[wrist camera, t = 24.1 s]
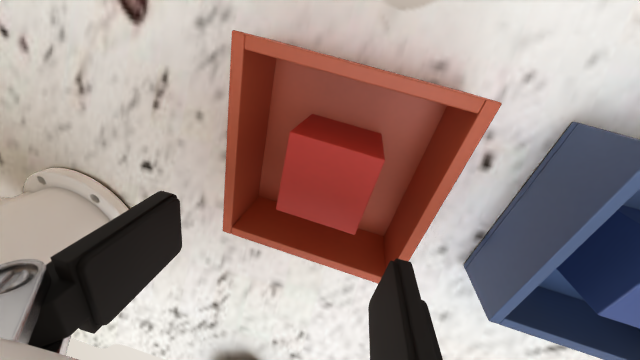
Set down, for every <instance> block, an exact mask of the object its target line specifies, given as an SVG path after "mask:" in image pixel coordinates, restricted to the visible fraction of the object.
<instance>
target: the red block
mask: <svg viewBox="0 0 640 360" xmlns="http://www.w3.org/2000/svg"><path fill="white" fill-rule="evenodd" d="M384 162H385V156H384V148H383V140H382V134H381V133H377V132H374V131H370V130H367V129H363V128H360V127H356V126H353V125H350V124H346V123H343V122H339V121H336V120H332V119H329V118H326V117H322V116H319V115H315V114H311V115H310V116H309V117H307V118H306V119H305V120H304V121H302V122H301V123H300V124H299V125H297V126H296V127H295V128H294V129H292V130H291V131H290V132H289V138H288V144H287V149H286V155H285V160H284V166H283V172H282V177H281V183H280V188H279V194H278V200H277V205H276V209H277V210H279V211H282V212H286V213H289V214H292V215H295V216H298V217H301V218H304V219H307V220H310V221H313V222H316V223H319V224H322V225H326V226H329V227H332V228H335V229H338V230H341V231H344V232H347V233H350V234H353V235H355V234H356V231H357V229H358V226H359V224H360V221H361V219H362V216H363V214H364V211H365V209H366V207H367V204H368V202H369V199H370V197H371V194H372V192H373V189H374V187H375V184H376V182H377V179H378V177H379V175H380V172H381V170H382V167H383V165H384Z"/></svg>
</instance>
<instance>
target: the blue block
mask: <svg viewBox="0 0 640 360" xmlns="http://www.w3.org/2000/svg"><path fill="white" fill-rule="evenodd" d="M556 269H557V270H558V271H559V272H560V273H561V274H562V276H563V277H564V278H565V279H566V280H567V281H568V282H569V283H570V284H571V286H572V287H573V288H574V289H575V290H576V291H577V292H578V293H579V294H580V296H581V297H582V298H583V299H584V300H585V301H586V302H587V303H588V304H589V306H590V307H591V308H592V309H593V310H594V311H595V312H596V313H597V314H598V315H600V316H603V317H606V318H609V319H612V320H615V321H618V322H621V323H624V324H627V325H631V326H634V327H637V328H640V210H637V209H634V208H630V207H627V206H623V205H622V206H621V207H620V208H619V209H618V210H617V211H616V212H615V213H614V214H613V215H612V216H611V217H610V218H609V219H608V220H607V221H606V222H604V223H603V224H602V225H601V226H600V227H599V228H598V229H597V230H596V231H595V232H594V233H593V234H592V235H591V236H590V237H589V238H588V239H587V240H586V241H585V242H584V243H583V244H581V245H580V246H579V247H578V248H577V249H576V250H575V251H574V252H573V253H572V254H571V255H570V256H569V257H568V258H567V259H566V260H565V261H564V262H563V263H562V264H561V265H559V266H558V267H557V268H556Z"/></svg>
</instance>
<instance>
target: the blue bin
mask: <svg viewBox="0 0 640 360" xmlns="http://www.w3.org/2000/svg"><path fill="white" fill-rule="evenodd" d="M622 205H623V206H627V207H630V208H634V209H637V210H640V139H636V138H632V137H629V136H625V135H621V134H618V133H614V132H610V131H607V130H603V129H599V128H596V127H592V126H588V125H584V124H581V123H577V122H572V123H571V125H570V126H569V127H568V129H567V130H566V131H565V132H564V134H563V135H562V136H561V138H560V139H559V140H558V142H557V143H556V144H555V146H554V147H553V148H552V150H551V151H550V152H549V153H548V155H547V156H546V157H545V159H544V160H543V161H542V163H541V164H540V165H539V167H538V168H537V169H536V171H535V172H534V173H533V174H532V176H531V177H530V178H529V180H528V181H527V182H526V184H525V185H524V186H523V188H522V189H521V190H520V192H519V193H518V194H517V195H516V197H515V198H514V199H513V201H512V202H511V203H510V205H509V206H508V207H507V209H506V210H505V211H504V213H503V214H502V215H501V216H500V218H499V219H498V220H497V222H496V223H495V224H494V226H493V227H492V228H491V230H490V231H489V232H488V234H487V235H486V236H485V237H484V239H483V240H482V241H481V243H480V244H479V245H478V247H477V248H476V249H475V251H474V252H473V253H472V255H471V256H470V257H469V258H468V260H467V261H466V262H465V264H464V268H465V269H466V272H467V274H468V276H469V278H470V280H471V283H472V285H473V287H474V289H475V291H476V294H477V296H478V298H479V300H480V302H481V305H482V307H483V309H484V311H485V314H486V316H487V318H488V320H489V321H491V322H494V323H497V324H500V325H503V326H506V327H509V328H512V329H515V330H518V331H521V332H524V333H527V334H529V335H532V336H535V337H538V338H541V339H544V340H547V341H550V342H553V343H556V344H559V345H562V346H565V347H568V348H571V349H574V350H577V351H580V352H583V353H586V354H589V355H592V356H595V357H598V358H601V359H604V360H640V328H637V327H634V326H631V325H627V324H624V323H621V322H618V321H615V320H612V319H609V318H606V317H603V316H600V315H598V314H597V313H596V312H595V311H594V310H593V309H592V308H591V307H590V306H589V304H588V303H587V302H586V301H585V300H584V299H583V298H582V297H581V296H580V294H579V293H578V292H577V291H576V290H575V289H574V288H573V287H572V286H571V284H570V283H569V282H568V281H567V280H566V279H565V278H564V277H563V276H562V274H561V273H560V272H559V271H558V270H557V269H556V268H557V267H558V266H559V265H561V264H562V263H563V262H564V261H565V260H566V259H567V258H568V257H569V256H570V255H571V254H572V253H573V252H574V251H575V250H576V249H577V248H578V247H579V246H580V245H581V244H583V243H584V242H585V241H586V240H587V239H588V238H589V237H590V236H591V235H592V234H593V233H594V232H595V231H596V230H597V229H598V228H599V227H600V226H601V225H602V224H603V223H604V222H606V221H607V220H608V219H609V218H610V217H611V216H612V215H613V214H614V213H615V212H616V211H617V210H618V209H619V208H620V207H621V206H622Z"/></svg>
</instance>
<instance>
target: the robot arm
mask: <svg viewBox="0 0 640 360" xmlns="http://www.w3.org/2000/svg"><path fill="white" fill-rule="evenodd" d="M181 248H182V234H181V217H180V201H179V199H177V196H176V195H174V194H171V193H168V192H164V191H159V192H157V193H155V194H154V195H152V196H150V197H149V198H147V199H146V200H144V201H142V202H141V203H139V204H137V205H136V206H134V207H132V208H131V209H128V208H127V207H126V206H125V204H124V203H123V202H122V201H121V200H120V199H119V198H118V197H117V196H116V195H114V194H113V193H112V192H111V191H110V190H109V189H107V188H106V187H105V186H103V185H102V184H100V183H99V182H97V181H95V180H94V179H92V178H90V177H88V176H86V175H84V174H82V173H79V172H77V171H74V170H70V169H66V168H49V169H45V170H42V171H39V172H36V173H34V174H31V175H30V176H29V177H28V178H27V179H26V182H25V184H24V187H23V194H21V195H18V196H15V197H13V198H5V197H2V198H0V360H78V359H75V358H72V357H68V356H66V353H67V349H68V345H69V342H70V338H71V334H72V333H74V332H75V331H76V330H77V329H78V328H79V329H81V330H84V331H87V332H90V333H93V334H94V333H95V332H96V331H97V330H98V329H99V328H100V327H101V326H102V325H107V324H108V323H110V322H111V321H112V320H113V319H114V318H115V317H116V316H117V315H118V314H119V313H120V312H121V311H122V310H123V309H124V308H125V307H126V306H127V305H128V304H129V303H130V302H131V301H132V300H133V299H134V298H135V297H136V296H137V295H138V294H139V293H140V292H141V291H142V290H143V288H144V287H145V286H146V285H147V284H148V283H149V282H150V281H151V280H152V279H153V278H154V277H155V276H156V275H157V274H158V273H159V272H160V271H161V270H162V269H163V268H164V267H165V266H166V265H167V264H168V263H169V262H170V261H171V260H172V259H173V258H174V257H175V256H176V255H177V254H178V253H179V252H180V250H181ZM369 338H370V360H443V359H442V355H441V352H440V348H439V345H438V341H437V338H436V334H435V331H434V327H433V324H432V320H431V317H430V313H429V310H428V307H427V304H426V303H425V301H423V300H421V297H420V293H419V290H418V286H417V282H416V278H415V274H414V271H413V267H412V264H411V262H408V261H405V260H401V259H398V258H396V259H395V260H394V261H392V260H391V261H390V262H389V264H388V266H387V268H386V270H385V272H384V274H383V276H382V278H381V280H380V282H379V284H378V286H377V288H376V290H375V292H374V294H373V296H372V298H371V300H370V303H369Z"/></svg>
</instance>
